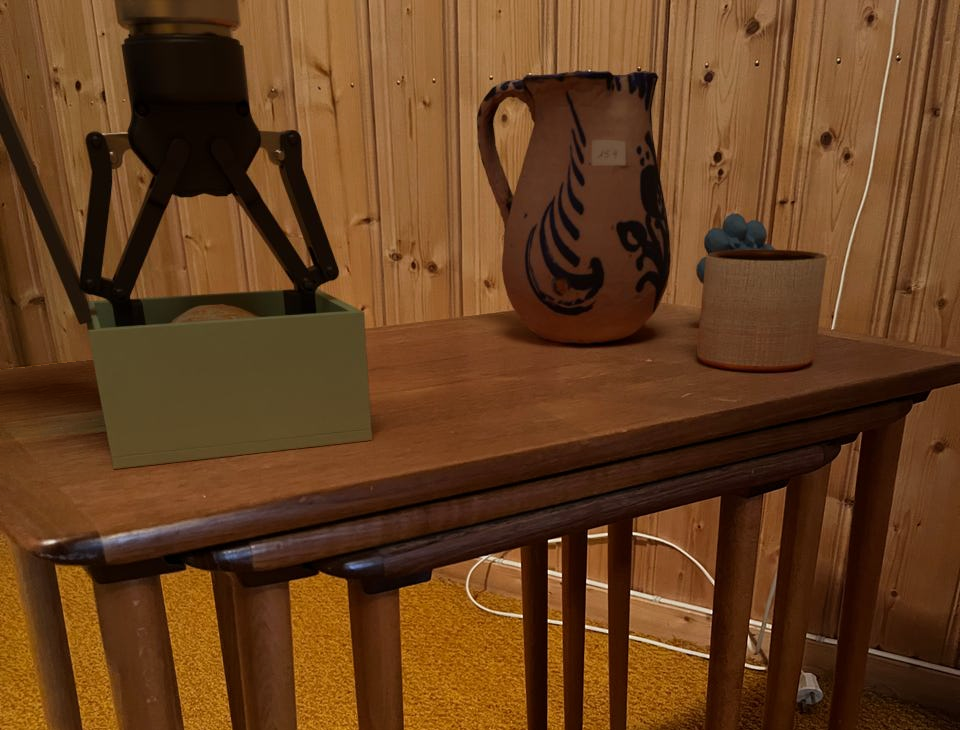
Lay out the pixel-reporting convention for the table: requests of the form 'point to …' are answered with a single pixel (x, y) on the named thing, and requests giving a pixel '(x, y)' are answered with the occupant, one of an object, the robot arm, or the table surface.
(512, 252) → the ceramic pitcher
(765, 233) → the grapes
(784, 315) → the planter
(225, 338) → the olive green storage bin
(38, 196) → the storage bin lid
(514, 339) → the table surface
